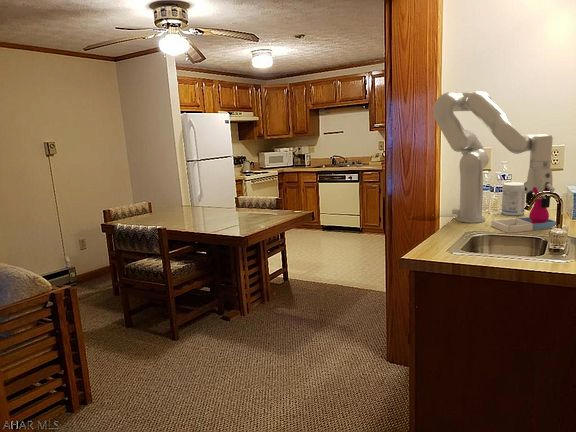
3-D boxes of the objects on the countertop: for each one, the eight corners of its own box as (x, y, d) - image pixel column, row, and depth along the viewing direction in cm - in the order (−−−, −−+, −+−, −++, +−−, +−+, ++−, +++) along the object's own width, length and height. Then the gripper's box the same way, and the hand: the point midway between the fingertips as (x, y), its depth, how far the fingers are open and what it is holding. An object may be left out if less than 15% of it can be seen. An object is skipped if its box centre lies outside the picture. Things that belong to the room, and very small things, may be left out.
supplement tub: (514, 210, 208) (515, 181, 205) (529, 214, 199) (530, 183, 196) (497, 213, 206) (498, 183, 203) (511, 216, 197) (512, 185, 194)
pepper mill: (551, 228, 175) (554, 180, 170) (532, 228, 176) (535, 180, 172) (544, 223, 182) (547, 177, 177) (526, 224, 183) (528, 178, 179)
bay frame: (507, 232, 173) (507, 226, 172) (491, 225, 184) (491, 220, 183) (558, 227, 175) (559, 221, 174) (539, 221, 186) (539, 216, 185)
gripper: (564, 166, 166) (560, 208, 170) (534, 162, 183) (531, 201, 187) (546, 167, 165) (543, 210, 169) (518, 163, 182) (515, 202, 186)
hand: (537, 205), depth 178 cm, fingers open, 9 cm apart
